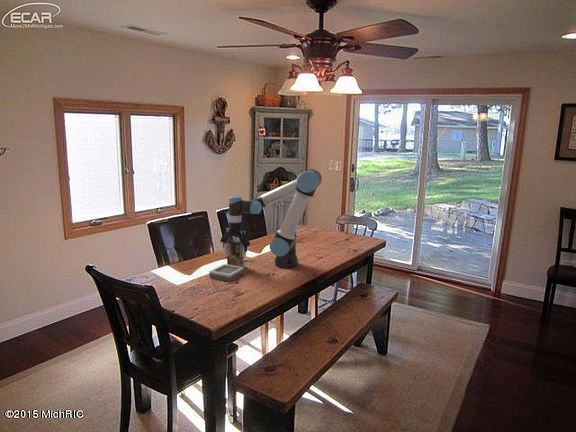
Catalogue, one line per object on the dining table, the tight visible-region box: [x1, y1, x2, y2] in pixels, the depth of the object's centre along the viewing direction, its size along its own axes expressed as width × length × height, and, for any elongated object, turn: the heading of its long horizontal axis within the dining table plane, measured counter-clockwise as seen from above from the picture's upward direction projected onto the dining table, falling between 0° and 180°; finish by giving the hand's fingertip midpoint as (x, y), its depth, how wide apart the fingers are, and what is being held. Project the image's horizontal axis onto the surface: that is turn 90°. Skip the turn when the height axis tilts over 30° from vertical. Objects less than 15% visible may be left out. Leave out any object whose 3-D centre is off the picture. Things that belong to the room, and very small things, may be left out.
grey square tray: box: [209, 263, 245, 282], centre depth 242 cm, size 14×15×4 cm
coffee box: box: [226, 239, 245, 268], centre depth 257 cm, size 9×6×16 cm
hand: (234, 255), depth 257 cm, fingers open, 13 cm apart
